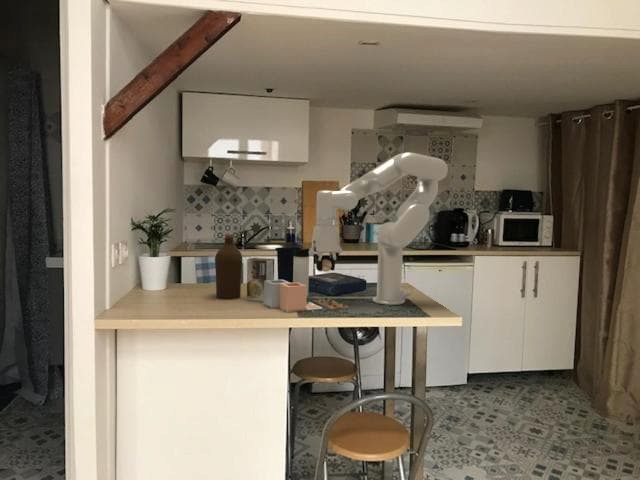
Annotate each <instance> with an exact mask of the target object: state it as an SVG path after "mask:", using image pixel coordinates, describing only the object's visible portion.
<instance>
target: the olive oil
mask: <svg viewBox="0 0 640 480" xmlns="http://www.w3.org/2000/svg"><path fill="white" fill-rule="evenodd" d="M214 262H215V264H214V266H215V295H216V296H215V297H216V298H217V299H221V300H235V299H237V300H238V299H239V298H241V289H242V287H241V286H242V271H243V270H242V269H243V255H242V253H241V251H240V249H238V248H237V247H236V245H235V244H234V234H233V233H226V234H225V235H224V244H223V245H222V246H221V247H220V248H219V250H217V252H216V254H215V257H214Z"/></svg>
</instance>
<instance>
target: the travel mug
mask: <svg viewBox="0 0 640 480" xmlns="http://www.w3.org/2000/svg"><path fill="white" fill-rule="evenodd" d="M309 250H310V248H303V249H300V248H299V249H294V250H293V264H292V265H293V267H292V269H293V274H292V283H296V282H298V283H301V284H304V285H306V286H307V299H308V298H309V279H310V277H309V276H310V253H309Z"/></svg>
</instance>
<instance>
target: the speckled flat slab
mask: <svg viewBox="0 0 640 480" xmlns="http://www.w3.org/2000/svg"><path fill="white" fill-rule="evenodd" d="M313 302H314V304H318V305H320V306H321V307H324V308H327V309H330V310H331V311H333V310H345V309H349V308H350V307H349V306H348V305H346V303H341V301H335V300H333V299H331V298H328V297H324V298H321V299H320V298H318V297H317V298H315V299H313V300H312V303H313Z"/></svg>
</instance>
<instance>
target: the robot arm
mask: <svg viewBox="0 0 640 480" xmlns="http://www.w3.org/2000/svg"><path fill="white" fill-rule="evenodd" d="M448 171H449V167H448V164H447V163H446V162H445V160H443V159H441V158H438V157H433V156H430V155H424V154H419V153H415V152H410V151H409V152H408V151H407V152H402V153H399V154H396V155H394V156H393V157H391V158H389V159H388V160H386V161H385V162H383V163H382V164H380V165H378V166H377V167H375V168H373V169H372V170H370V171H368V172H367V173H365V174H363V175H362V176H361V177H359V178H357V179H355V180H353V181H352V182H350V183H349V184H347V185H346V186H344V187H342V188H341V189H339V190H338V191H337V190H336V191H335V190H330V189H329V190H323V189H322V190H319V191H317V193H316V226H313V231H312V237H311V247H310V248H309V255H311V256H312V257H313V258H314V259H315V261H316V270H317V272H318V271H319V272H323V271H322V257H323V254H326V253H329V258H330V259H328V260H329V261H330V262H331V264H332V267H331V269H330V270H329V271H335V268H336V260H337V258H338V257H339V256H340V254H342V253H343V250H344V249H342V247H341V245H340V234H339V228H338V226H337V224H339V223H340V221H339V219H337V210H344V211H350V210H352V209H355V208H356V206H357V205H358V203H359V201H360V200H361V199H363V198H366V197H367V196H370V195H372V194H376V193H379V192H381V191H383V190H385V189H386V188H388V187H390V186H391V185H392V184H394V183H396V182H397V181H398V180H400V179H402V178H404V177H405V176H413V177H417V185H416V187H415V189H414V190H413V191H412V192H411V194H410V195H409V196H408V197H407V199H406V200H405V201H404V202H403V203H401V205H400V207H398V209H397V212H396V218H397V220H396V221H388V222H385V223H383V224H381V226H380V227H379V228H378V231H377V234H376V235H377V237H376V238H377V249H378V250H377V251H378V253H377V254H378V255H377V276H376V277H377V278H376V280H377V281H376V296H374V297H372V302H373V303H374V304H375V303H376V304H380V305H387V306H389V305H390V306H391V305H392V306H393V305H398V306H399V305H404V303H405V302H406V300H405V299H404V297H410V296H411V295H412V292H411V291H404V290H402V277H403V260H404V259H403V256H404V255H403V248H406V247H407V246H408V245H409V244H410V243H412V241H413V240H414V239H415V238H416V237H417V235H418V234H419V233H420V232H421V231H422V230H423V228H424V227H425V226H426V225H427V223H428V221H429V219H430V209H429V208H430V206H431V205H432V203H434V201H435V200H436V198H437V196H438V193H439V184H438V183H439V181H443V180H444V179H445V178H446V177H447V175H448ZM315 252H316V253H315Z"/></svg>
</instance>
